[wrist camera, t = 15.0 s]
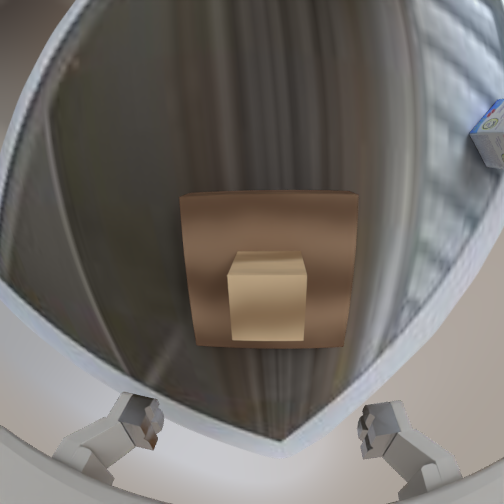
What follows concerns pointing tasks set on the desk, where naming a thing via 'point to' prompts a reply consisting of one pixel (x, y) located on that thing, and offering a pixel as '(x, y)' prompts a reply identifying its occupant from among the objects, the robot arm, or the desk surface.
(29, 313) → the desk surface
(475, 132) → the medicine box
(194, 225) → the block
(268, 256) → the oak cube
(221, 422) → the desk surface
